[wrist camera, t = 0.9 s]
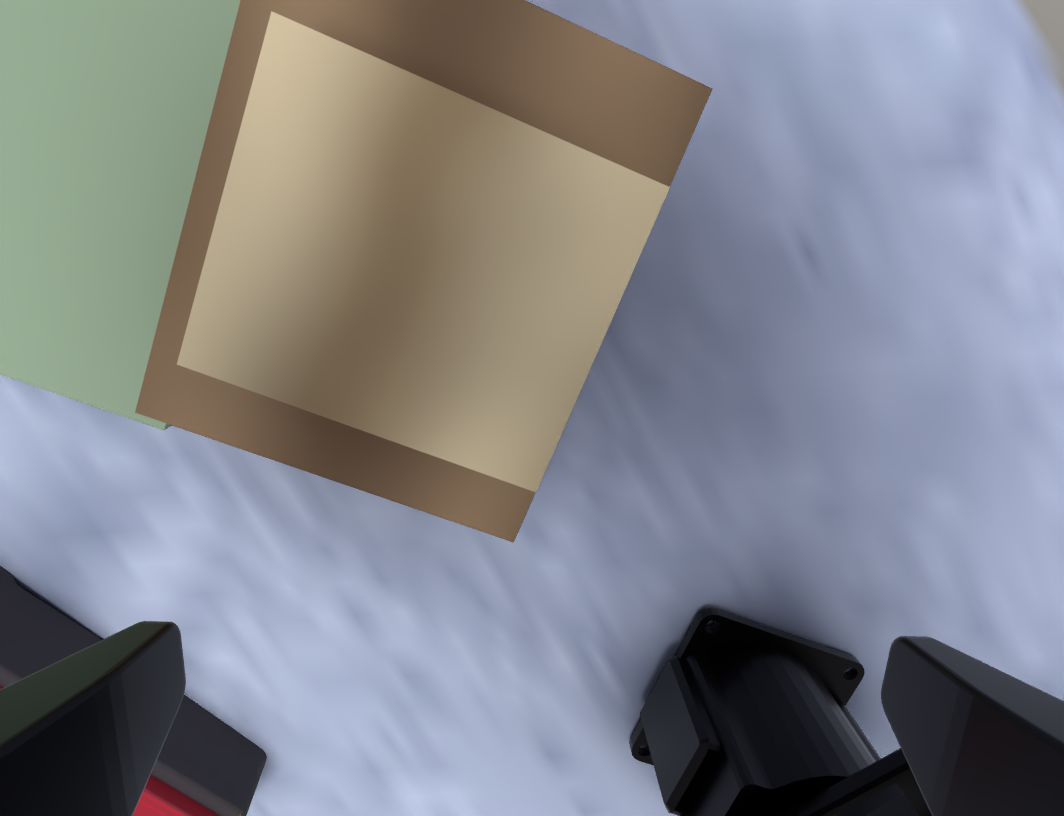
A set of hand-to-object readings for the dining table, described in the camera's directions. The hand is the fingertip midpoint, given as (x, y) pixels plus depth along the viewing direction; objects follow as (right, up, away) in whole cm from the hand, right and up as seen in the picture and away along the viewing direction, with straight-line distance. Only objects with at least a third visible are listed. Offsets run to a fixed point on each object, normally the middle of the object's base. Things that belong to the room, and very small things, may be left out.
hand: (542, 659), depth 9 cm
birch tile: (-3, +6, +7) cm, 10 cm away
